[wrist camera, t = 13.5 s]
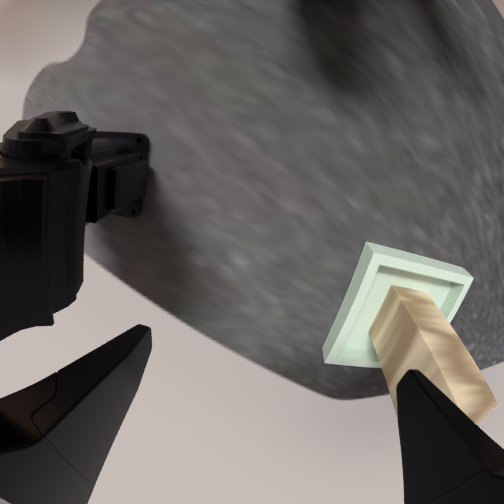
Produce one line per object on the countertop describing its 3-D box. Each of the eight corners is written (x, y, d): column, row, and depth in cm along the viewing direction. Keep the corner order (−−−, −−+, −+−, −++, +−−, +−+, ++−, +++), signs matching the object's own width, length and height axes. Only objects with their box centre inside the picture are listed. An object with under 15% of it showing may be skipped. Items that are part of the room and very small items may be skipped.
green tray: (322, 348, 24) (324, 363, 23) (365, 241, 20) (373, 252, 18) (413, 356, 24) (419, 369, 23) (462, 267, 20) (473, 278, 18)
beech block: (368, 331, 23) (408, 457, 11) (391, 284, 21) (460, 411, 9) (402, 335, 23) (449, 448, 11) (426, 291, 21) (497, 403, 9)
